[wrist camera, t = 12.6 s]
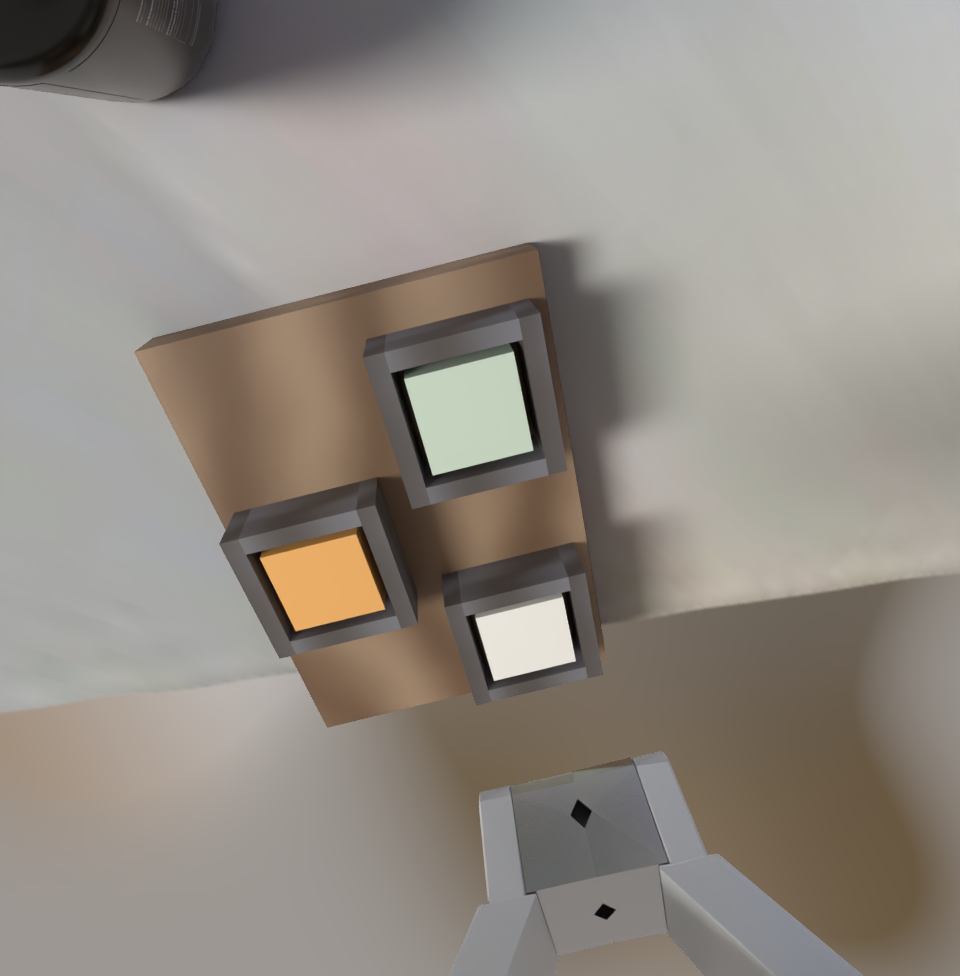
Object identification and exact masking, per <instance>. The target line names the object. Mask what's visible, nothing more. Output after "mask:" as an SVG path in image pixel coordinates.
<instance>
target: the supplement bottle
mask: <svg viewBox="0 0 960 976" xmlns="http://www.w3.org/2000/svg"><path fill="white" fill-rule="evenodd" d="M215 21H216V0H0V86H6V87H13V88H21V89H28V90H35V91H42V92H49V93H56V94H64V95H71V96H78V97H85V98H92V99H100V100H107V101H116V102H131V103H134V102H146V101H151V100H156V99H159V98H162V97H165V96H167V95H169V94H171V93H173V92H175V91H176V90H178V89H180V88H181V87H182V86H183V85H185V84H186V83H187V82H188V81H189V80H190V79H191V78H192V77H193V76H194V75H195V73H196V72H197V71H198V69H199V68H200V66H201V65H202V63H203V61H204V59H205V57H206V55H207V53H208V51H209V48H210V45H211V42H212V38H213V33H214V29H215Z"/></svg>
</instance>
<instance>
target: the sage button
mask: <svg viewBox="0 0 960 976" xmlns="http://www.w3.org/2000/svg"><path fill="white" fill-rule="evenodd" d="M404 381H405V384H406V387H407V391H408V394H409V397H410V401H411V404H412V408H413V411H414V414H415V418H416V421H417V424H418V428H419V431H420V434H421V438H422V441H423V444H424V448H425V451H426V454H427V458H428V461H429V465H430V468H431V471H432V475H437V474H441V473H445V472H449V471H453V470H457V469H461V468H465V467H469V466H473V465H477V464H481V463H486V462H490V461H494V460H498V459H502V458H506V457H510V456H514V455H518V454H522V453H526V452H530V451H533V446H532V441H531V436H530V431H529V426H528V421H527V416H526V411H525V406H524V401H523V396H522V391H521V386H520V381H519V376H518V371H517V366H516V361H515V356H514V351H513V350H512V348H511V346H510V344H509V343H508V344H504V345H500V346H496V347H492V348H488V349H484V350H480V351H476V352H472V353H468V354H464V355H460V356H456V357H452V358H449V359H445V360H441V361H437V362H433V363H429V364H425V365H421V366H417V367H413V368H409V369H405V370H404Z"/></svg>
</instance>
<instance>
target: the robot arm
mask: <svg viewBox="0 0 960 976" xmlns="http://www.w3.org/2000/svg"><path fill="white" fill-rule="evenodd" d="M479 810H480V820H481V832H482V842H483V853H484V864H485V875H486V885H487V896H488V903H487V904H483V905H479V906H478V909H477V911H476V913H475V916H474V918H473V920H472V923H471V925H470V927H469V930H468V932H467V934H466V937H465V939H464V942H463V944H462V946H461V948H460V951H459V953H458V956H457V958H456V960H455V962H454V965H453V967H452V969H451V972H450V974H449V976H555V971H556V968H557V964H558V958H557V956H561V955H565V954H569V953H573V952H577V951H581V950H586V949H590V948H593V947H598V946H602V945H606V944H609V943H615V942H620V941H625V940H631V939H636V938H642V937H647V936H653V935H658V934H663V933H669V937H670V938H671V939H672V940H673V941H674V942H675V943H676V944H677V946H678V947H679V948H680V949H681V950H682V951H683V952H684V953H685V955H686V956H687V957H688V958H689V959H690V960H691V961H692V962H693V964H694V965H695V966H696V967H697V968H698V969H699V970H700V971H701V972H702V974H703V975H704V976H863V975H862V974H861V973H859V972H858V971H857V970H856V969H855V968H853V967H852V966H851V965H850V964H849V963H847V962H846V961H845V960H844V959H842V958H841V957H840V956H839V955H838V954H837V953H835V952H834V951H833V950H832V949H831V948H829V947H828V946H827V945H826V944H825V943H824V942H822V941H821V940H820V939H819V938H818V937H816V936H815V935H814V934H813V933H812V932H810V931H809V930H808V929H807V928H806V927H805V926H803V925H802V924H801V923H800V922H799V921H797V920H796V919H795V918H794V917H793V916H791V915H790V914H789V913H788V912H787V911H785V910H784V909H783V908H782V907H781V906H780V905H778V904H777V903H776V902H775V901H774V900H772V899H771V898H770V897H769V896H768V895H766V894H765V893H764V892H763V891H762V890H761V889H759V888H758V887H757V886H756V885H754V884H753V883H752V882H751V881H750V880H749V879H747V878H746V877H745V876H744V875H742V874H741V873H740V872H739V871H738V870H737V869H735V868H734V867H733V866H732V865H731V864H729V863H728V862H727V861H726V860H725V859H724V858H722V857H721V856H720V855H719V854H718V853H717V854H711V855H707V853H706V850H705V847H704V845H703V843H702V840H701V838H700V835H699V833H698V830H697V828H696V826H695V823H694V821H693V818H692V816H691V813H690V811H689V808H688V806H687V804H686V801H685V799H684V796H683V794H682V791H681V789H680V787H679V784H678V782H677V779H676V777H675V774H674V772H673V770H672V767H671V765H670V762H669V760H668V758H667V757H666V755H665V754H664V753H663V752H662V751H660V752H656V753H652V754H648V755H644V756H640V757H636V758H632V759H631V758H627V759H623V760H619V761H614V762H610V763H607V764H603V765H598V766H594V767H590V768H586V769H582V770H578V771H573V772H571V773H568V774H564V775H559V776H554V777H550V778H545V779H541V780H536V781H531V782H526V783H522V784H517V785H512V786H506V787H501V788H497V789H493V790H488V791H484V792H480V797H479ZM611 939H612V940H611Z"/></svg>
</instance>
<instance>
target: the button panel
mask: <svg viewBox="0 0 960 976" xmlns="http://www.w3.org/2000/svg"><path fill="white" fill-rule="evenodd" d="M508 343H509V344H510V346H511V348H512V350H513V351H514V356H515V361H516V366H517V371H518V376H519V381H520V386H521V391H522V396H523V401H524V406H525V411H526V416H527V421H528V426H529V431H530V436H531V441H532V446H533V451H530V452H526V453H522V454H518V455H514V456H510V457H506V458H502V459H498V460H494V461H490V462H486V463H481V464H477V465H473V466H469V467H465V468H461V469H457V470H453V471H449V472H445V473H441V474H437V475H432V471H431V468H430V465H429V461H428V458H427V454H426V451H425V448H424V444H423V441H422V438H421V434H420V431H419V428H418V424H417V421H416V418H415V414H414V411H413V408H412V404H411V401H410V397H409V394H408V391H407V387H406V384H405V381H404V370H405V369H409V368H413V367H417V366H421V365H425V364H429V363H433V362H437V361H441V360H445V359H449V358H452V357H456V356H460V355H464V354H468V353H472V352H476V351H480V350H484V349H488V348H492V347H496V346H500V345H504V344H508ZM134 353H135V355H136V357H137V358H138V360H139V362H140V364H141V366H142V368H143V370H144V372H145V374H146V376H147V378H148V380H149V382H150V384H151V386H152V388H153V390H154V392H155V393H156V395H157V397H158V399H159V401H160V403H161V405H162V407H163V409H164V411H165V413H166V415H167V417H168V419H169V421H170V423H171V425H172V427H173V428H174V430H175V432H176V434H177V436H178V438H179V440H180V442H181V444H182V446H183V448H184V450H185V452H186V454H187V456H188V458H189V460H190V462H191V463H192V465H193V467H194V469H195V471H196V473H197V475H198V477H199V479H200V481H201V483H202V485H203V487H204V489H205V491H206V493H207V495H208V497H209V498H210V500H211V502H212V504H213V506H214V508H215V510H216V512H217V514H218V516H219V518H220V520H221V522H222V524H223V526H224V528H225V530H226V531H225V533H224V535H223V537H222V539H221V542H220V546H221V548H222V550H223V552H224V554H225V556H226V558H227V560H228V562H229V563H230V565H231V567H232V569H233V571H234V573H235V575H236V577H237V579H238V580H239V582H240V584H241V586H242V588H243V590H244V592H245V594H246V596H247V598H248V599H249V601H250V603H251V605H252V607H253V609H254V611H255V613H256V615H257V616H258V618H259V620H260V622H261V624H262V626H263V628H264V630H265V632H266V634H267V635H268V637H269V639H270V641H271V643H272V645H273V647H274V649H275V651H276V652H277V654H278V656H279V658H284V657H288V656H291V658H292V660H293V662H294V664H295V666H296V668H297V670H298V672H299V674H300V675H301V677H302V679H303V681H304V683H305V685H306V687H307V689H308V691H309V693H310V695H311V697H312V699H313V701H314V703H315V705H316V706H317V708H318V710H319V712H320V714H321V716H322V718H323V720H324V722H325V724H326V726H327V727H332V726H335V725H340V724H344V723H348V722H352V721H356V720H360V719H364V718H369V717H372V716H376V715H381V714H385V713H389V712H393V711H397V710H401V709H405V708H410V707H414V706H418V705H422V704H426V703H430V702H434V701H438V700H443V699H446V698H451V697H455V696H459V695H463V694H467V693H471V692H472V693H473V697H474V700H475V703H476V705H480V704H484V703H488V702H492V701H496V700H500V699H504V698H508V697H512V696H516V695H521V694H525V693H529V692H533V691H537V690H541V689H545V688H550V687H554V686H558V685H562V684H566V683H570V682H574V681H578V680H582V679H587V678H591V677H594V676H599V675H603V671H602V666H601V661H603V660H606V653H605V647H604V641H603V636H602V629H601V623H600V617H599V611H598V605H597V599H596V593H595V587H594V581H593V575H592V569H591V563H590V557H589V551H588V545H587V539H586V533H585V527H584V521H583V515H582V509H581V503H580V497H579V491H578V485H577V479H576V473H575V467H574V461H573V455H572V449H571V443H570V437H569V431H568V425H567V419H566V413H565V407H564V401H563V396H562V390H561V384H560V378H559V372H558V366H557V360H556V354H555V348H554V342H553V336H552V330H551V324H550V318H549V312H548V306H547V300H546V294H545V288H544V282H543V276H542V270H541V264H540V258H539V252H538V249H537V248H536V247H534V246H533V245H532V244H530V243H525V244H521V245H517V246H513V247H509V248H505V249H501V250H497V251H493V252H489V253H486V254H482V255H478V256H474V257H470V258H466V259H462V260H458V261H454V262H450V263H446V264H442V265H438V266H434V267H431V268H427V269H423V270H419V271H415V272H411V273H407V274H403V275H399V276H395V277H391V278H387V279H383V280H379V281H376V282H372V283H368V284H364V285H360V286H356V287H352V288H348V289H344V290H340V291H336V292H332V293H328V294H324V295H321V296H317V297H313V298H309V299H305V300H301V301H297V302H293V303H289V304H285V305H281V306H277V307H273V308H269V309H266V310H262V311H258V312H254V313H250V314H246V315H242V316H238V317H234V318H230V319H226V320H222V321H218V322H214V323H211V324H207V325H203V326H199V327H195V328H191V329H187V330H183V331H179V332H175V333H171V334H167V335H163V336H159V337H156V338H152V339H151V340H150V341H148V342H147V343H146V344H144V345H143V346H142V347H140V348H139V349H138V350H136V351H135V352H134ZM360 526H362V527H363V530H364V532H365V535H366V537H367V540H368V543H369V545H370V548H371V551H372V553H373V556H374V558H375V561H376V564H377V566H378V569H379V572H380V574H381V577H382V579H383V582H384V585H385V587H386V605H385V609H384V610H380V611H376V612H372V613H368V614H364V615H360V616H356V617H352V618H348V619H344V620H340V621H336V622H332V623H327V624H323V625H319V626H315V627H311V628H307V629H303V630H299V631H295V629H294V627H293V625H292V623H291V621H290V619H289V617H288V615H287V613H286V610H285V608H284V606H283V604H282V602H281V600H280V598H279V596H278V594H277V592H276V590H275V588H274V586H273V584H272V582H271V580H270V578H269V576H268V574H267V572H266V570H265V568H264V566H263V564H262V562H261V560H260V556H261V553H262V551H263V550H268V549H272V548H276V547H280V546H284V545H288V544H292V543H296V542H300V541H304V540H308V539H312V538H316V537H320V536H324V535H328V534H332V533H336V532H340V531H344V530H348V529H352V528H356V527H360ZM559 593H562V596H563V600H564V605H565V610H566V615H567V620H568V625H569V630H570V635H571V640H572V644H573V649H574V654H575V659H576V661H574V662H570V663H566V664H562V665H558V666H554V667H550V668H546V669H541V670H537V671H533V672H529V673H525V674H521V675H517V676H513V677H509V678H505V679H500V680H496V681H494V679H493V676H492V672H491V669H490V666H489V662H488V659H487V656H486V652H485V649H484V646H483V642H482V639H481V636H480V632H479V629H478V626H477V622H476V619H475V614H477V613H481V612H485V611H489V610H494V609H498V608H502V607H506V606H510V605H514V604H518V603H522V602H526V601H530V600H534V599H538V598H542V597H547V596H551V595H555V594H559Z"/></svg>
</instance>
